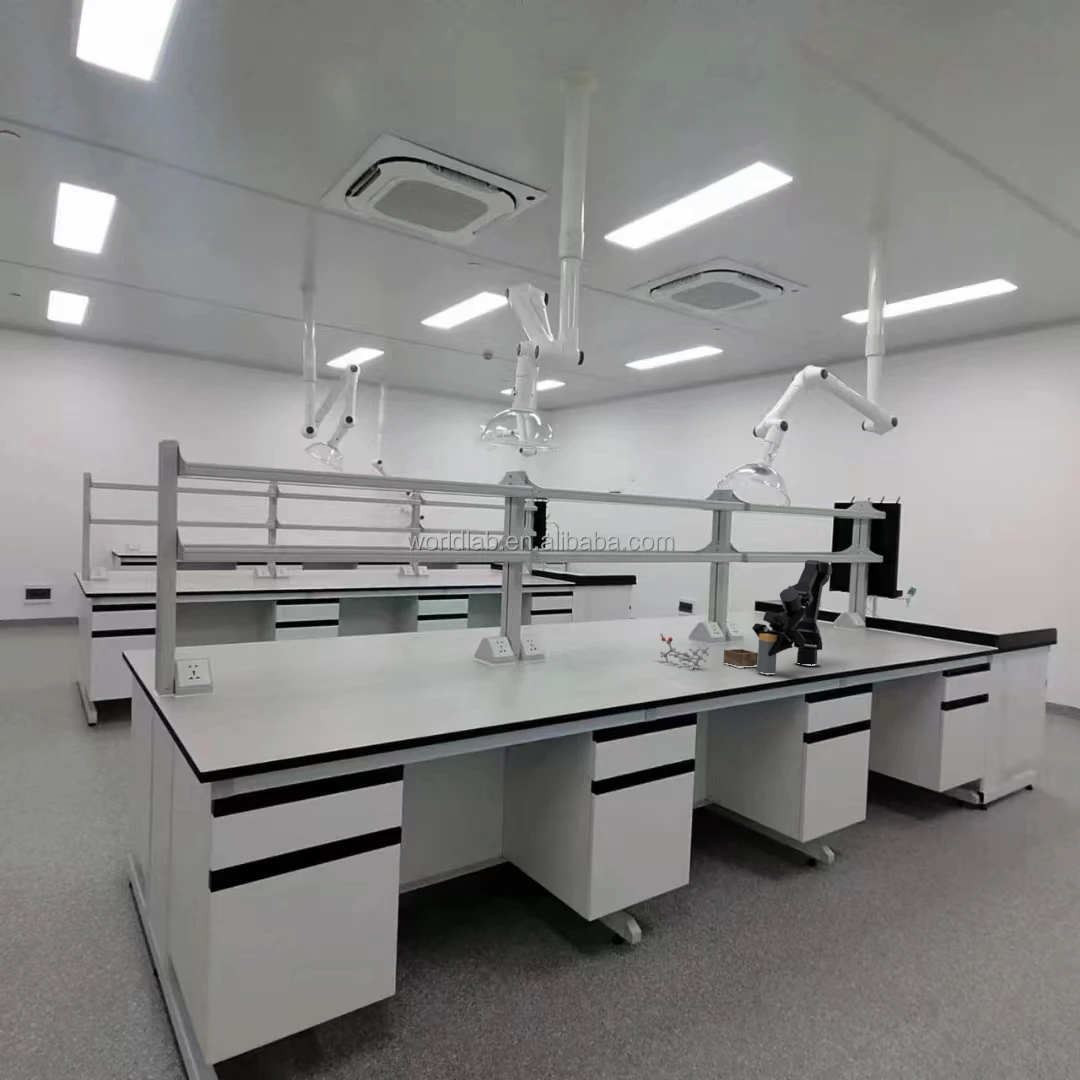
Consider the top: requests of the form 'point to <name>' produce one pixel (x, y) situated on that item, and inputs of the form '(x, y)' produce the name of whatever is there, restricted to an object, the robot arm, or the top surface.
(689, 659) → the molecular model
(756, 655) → the open wooden box
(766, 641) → the grey orange tall block
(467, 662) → the top surface
